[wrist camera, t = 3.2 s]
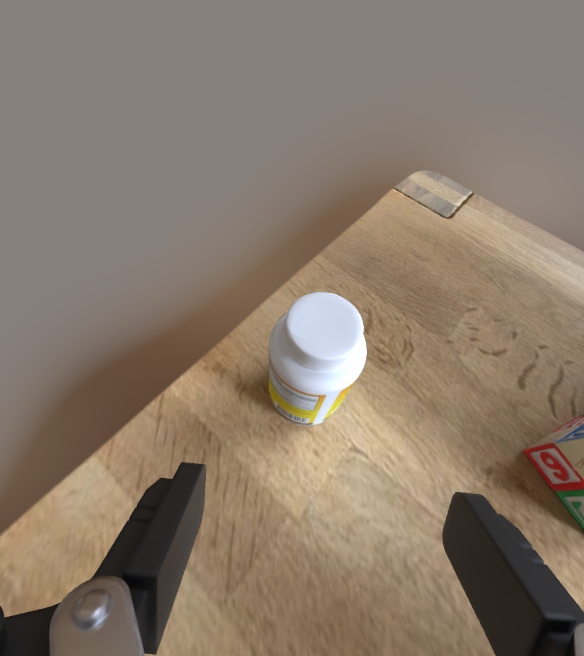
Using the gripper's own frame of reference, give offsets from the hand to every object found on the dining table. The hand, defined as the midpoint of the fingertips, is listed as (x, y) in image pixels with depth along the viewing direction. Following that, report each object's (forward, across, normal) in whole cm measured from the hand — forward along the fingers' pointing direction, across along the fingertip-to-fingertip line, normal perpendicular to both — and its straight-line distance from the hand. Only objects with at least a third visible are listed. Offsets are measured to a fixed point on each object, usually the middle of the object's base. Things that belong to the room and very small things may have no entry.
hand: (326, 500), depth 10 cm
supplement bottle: (+14, 0, +3) cm, 15 cm away
